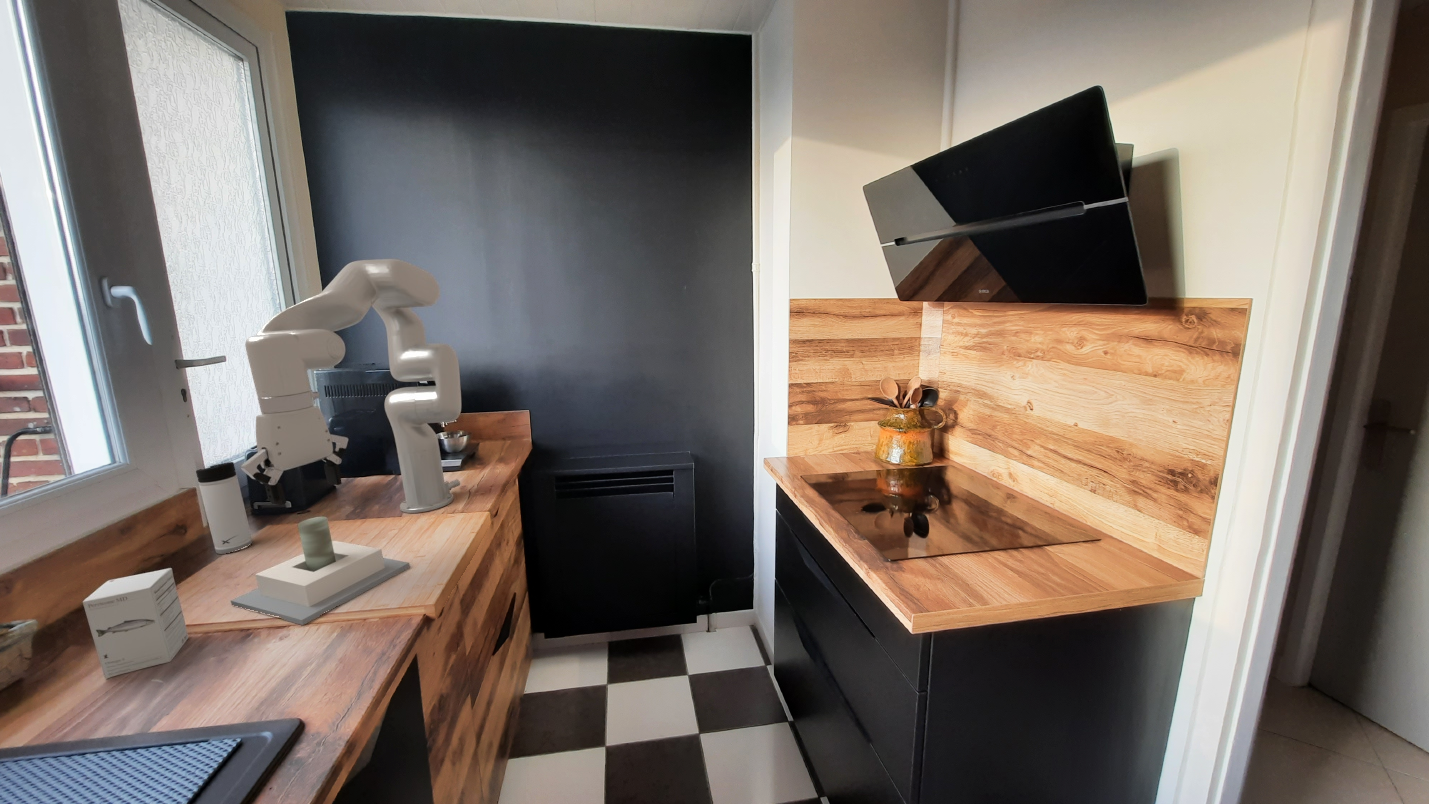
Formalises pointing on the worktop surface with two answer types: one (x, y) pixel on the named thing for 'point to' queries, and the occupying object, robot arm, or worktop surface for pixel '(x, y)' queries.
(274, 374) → the robot arm
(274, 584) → the socket block
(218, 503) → the travel mug
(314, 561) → the peg
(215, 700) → the worktop surface
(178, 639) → the supplement box
